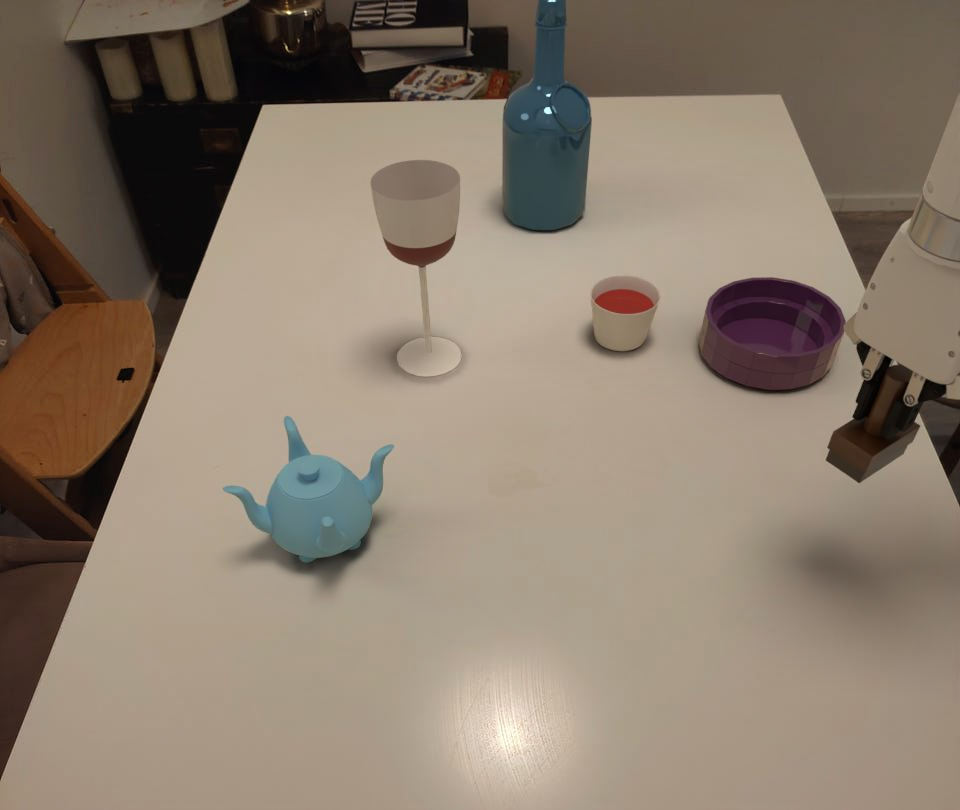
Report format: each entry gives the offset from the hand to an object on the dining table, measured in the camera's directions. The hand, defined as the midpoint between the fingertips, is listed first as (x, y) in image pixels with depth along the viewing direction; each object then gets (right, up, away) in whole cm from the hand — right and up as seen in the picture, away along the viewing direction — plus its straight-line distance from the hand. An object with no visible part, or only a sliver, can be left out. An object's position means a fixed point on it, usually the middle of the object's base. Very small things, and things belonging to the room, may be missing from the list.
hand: (880, 421), depth 77 cm
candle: (-17, +21, +38) cm, 47 cm away
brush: (0, -3, +3) cm, 4 cm away
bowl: (+1, +18, +35) cm, 40 cm away
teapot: (-53, -8, +18) cm, 57 cm away
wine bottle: (-26, +48, +58) cm, 79 cm away
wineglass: (-43, +18, +36) cm, 59 cm away
